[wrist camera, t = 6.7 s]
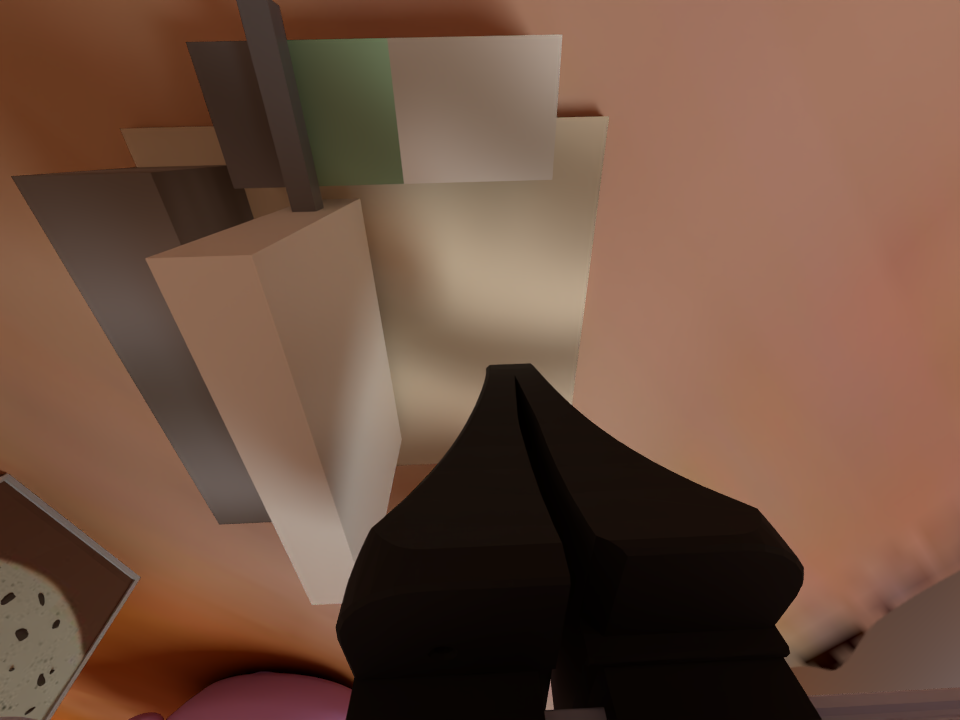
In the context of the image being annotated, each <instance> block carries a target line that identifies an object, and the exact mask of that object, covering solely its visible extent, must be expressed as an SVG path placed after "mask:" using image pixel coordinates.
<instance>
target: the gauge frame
mask: <svg viewBox="0 0 960 720" xmlns="http://www.w3.org/2000/svg"><path fill="white" fill-rule="evenodd" d="M287 43H288V48H289V52H290V57H291V62H292V66H293V71H294V75H295V80H296V84H297V89H298V93H299V98H300V102H301V107H302V111H303V116H304V120H305V125H306V129H307V134H308V138H309V143H310V147H311V152H312V156H313V161H314V165H315V170H316V175H317V179H318V184H319V188H320V193H321V197H322V199H353V198H360V201H361V207H362V213H363V218H364V224H365V230H366V236H367V241H368V247H369V253H370V259H371V265H372V270H373V276H374V282H375V288H376V294H377V299H378V305H379V311H380V317H381V323H382V328H383V334H384V340H385V346H386V351H387V357H388V363H389V369H390V375H391V380H392V386H393V392H394V398H395V404H396V409H397V415H398V421H399V427H400V433H401V438H402V441H401V446H400V451H399V455H398V460H397V465H396V466H399V465H422V464H438V463H439V462H440V460H441V459H442V458H443V456H444V455H445V454H446V453H447V451H448V450H449V449H450V447H451V446H452V444H453V443H454V441H455V440H456V439H457V437H458V436H459V434H460V432H461V431H462V429H463V427H464V426H465V424H466V422H467V420H468V418H469V416H470V414H471V413H472V411H473V409H474V407H475V405H476V402H477V400H478V397H479V395H480V392H481V390H482V387H483V384H484V380H485V376H486V368H487V367H488V366H489V365H497V364H524V363H531V364H532V365H533V366H534V367H535V368H536V369H537V370H538V371H539V372H540V373H541V375H542V376H543V377H544V378H545V379H546V380H547V381H548V382H549V383H550V384H551V385H552V386H553V387H554V388H555V389H556V390H557V391H558V392H559V393H560V394H561V395H562V396H563V397H564V398H565V399H566V400H567V401H568V402H569V403H570V404H571V405H572V400H573V392H574V384H575V377H576V369H577V361H578V353H579V346H580V338H581V330H582V322H583V315H584V307H585V299H586V291H587V284H588V276H589V268H590V261H591V253H592V245H593V237H594V230H595V222H596V214H597V206H598V199H599V191H600V183H601V175H602V168H603V160H604V152H605V144H606V137H607V129H608V121H609V116H600V117H560V118H557V105H558V90H559V76H560V61H561V47H562V35H514V36H465V37H415V38H366V39H316V40H287ZM186 44H187V47H188V50H189V53H190V56H191V59H192V62H193V65H194V68H195V71H196V74H197V77H198V80H199V83H200V86H201V90H202V93H203V96H204V99H205V102H206V105H207V108H208V111H209V114H210V117H211V120H212V123H213V126H198V127H158V128H120V130H121V133H122V135H123V137H124V139H125V142H126V144H127V146H128V149H129V151H130V153H131V155H132V158H133V160H134V162H135V164H136V167H134V168H120V169H106V170H92V171H78V172H64V173H51V174H37V175H23V176H11V177H12V179H13V180H14V182H15V184H16V185H17V187H18V189H19V190H20V192H21V194H22V195H23V197H24V199H25V200H26V202H27V204H28V205H29V207H30V209H31V210H32V212H33V214H34V215H35V217H36V219H37V220H38V222H39V224H40V225H41V227H42V229H43V230H44V232H45V234H46V235H47V237H48V239H49V240H50V242H51V244H52V245H53V247H54V249H55V251H56V252H57V254H58V256H59V257H60V259H61V261H62V262H63V264H64V266H65V267H66V269H67V271H68V272H69V274H70V276H71V277H72V279H73V281H74V282H75V284H76V286H77V287H78V289H79V291H80V292H81V294H82V296H83V297H84V299H85V301H86V302H87V304H88V306H89V307H90V309H91V311H92V312H93V314H94V316H95V317H96V319H97V321H98V322H99V324H100V326H101V327H102V329H103V331H104V332H105V334H106V336H107V337H108V339H109V341H110V342H111V344H112V346H113V348H114V349H115V351H116V353H117V354H118V356H119V358H120V359H121V361H122V363H123V364H124V366H125V368H126V369H127V371H128V373H129V374H130V376H131V378H132V379H133V381H134V383H135V384H136V386H137V388H138V389H139V391H140V393H141V394H142V396H143V398H144V399H145V401H146V403H147V404H148V406H149V408H150V409H151V411H152V413H153V414H154V416H155V418H156V419H157V421H158V423H159V424H160V426H161V428H162V429H163V431H164V433H165V434H166V436H167V438H168V440H169V441H170V443H171V445H172V446H173V448H174V450H175V451H176V453H177V455H178V456H179V458H180V460H181V461H182V463H183V465H184V466H185V468H186V470H187V471H188V473H189V475H190V476H191V478H192V480H193V481H194V483H195V485H196V486H197V488H198V490H199V491H200V493H201V495H202V496H203V498H204V500H205V501H206V503H207V505H208V506H209V508H210V510H211V511H212V513H213V515H214V516H215V518H216V520H217V521H218V523H219V524H240V523H261V522H272V521H271V519H270V517H269V515H268V513H267V511H266V509H265V506H264V504H263V502H262V500H261V498H260V496H259V494H258V492H257V490H256V488H255V486H254V484H253V482H252V480H251V477H250V475H249V473H248V471H247V469H246V467H245V465H244V463H243V461H242V459H241V457H240V455H239V453H238V450H237V448H236V446H235V444H234V442H233V440H232V438H231V436H230V434H229V432H228V430H227V428H226V426H225V423H224V421H223V419H222V417H221V415H220V413H219V411H218V409H217V407H216V405H215V403H214V401H213V399H212V396H211V394H210V392H209V390H208V388H207V386H206V384H205V382H204V380H203V378H202V376H201V374H200V372H199V369H198V367H197V365H196V363H195V361H194V359H193V357H192V355H191V353H190V351H189V349H188V347H187V345H186V342H185V340H184V338H183V336H182V334H181V332H180V330H179V328H178V326H177V324H176V322H175V320H174V318H173V316H172V313H171V311H170V309H169V307H168V305H167V303H166V301H165V299H164V297H163V295H162V293H161V291H160V289H159V286H158V284H157V282H156V280H155V278H154V276H153V274H152V272H151V270H150V268H149V266H148V264H147V262H146V259H145V258H148V257H150V256H153V255H156V254H159V253H162V252H164V251H167V250H170V249H173V248H175V247H178V246H181V245H184V244H187V243H189V242H192V241H195V240H198V239H201V238H203V237H206V236H209V235H212V234H214V233H217V232H220V231H223V230H226V229H228V228H231V227H234V226H237V225H240V224H242V223H245V222H248V221H251V220H253V219H256V218H259V217H262V216H265V215H267V214H270V213H273V212H276V211H278V210H281V209H284V208H287V207H290V202H289V198H288V194H287V191H286V187H285V183H284V179H283V176H282V172H281V168H280V164H279V160H278V157H277V153H276V149H275V145H274V141H273V138H272V134H271V130H270V126H269V122H268V119H267V115H266V111H265V107H264V103H263V100H262V96H261V92H260V88H259V84H258V81H257V77H256V73H255V69H254V65H253V62H252V58H251V54H250V50H249V46H248V43H247V41H217V42H186Z"/></svg>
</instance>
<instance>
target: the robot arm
mask: <svg viewBox="0 0 960 720" xmlns="http://www.w3.org/2000/svg"><path fill="white" fill-rule="evenodd" d="M803 580H804V567H803V565H802V564H801V562H800V561H799V559H798V557H797V556H796V555H795V554H794V552H793V551H792V550H791V549H790V547H789V546H788V545H787V544H786V542H785V541H784V540H783V539H782V537H781V536H780V535H779V534H778V532H777V531H776V530H775V529H774V528H773V526H772V525H771V524H770V523H769V522H768V520H767V519H766V518H765V517H764V516H763V515H762V513H761V512H760V511H759V510H758V509H757V508H754V507H752V506H750V505H747V504H745V503H742V502H740V501H737V500H735V499H733V498H730V497H728V496H725V495H723V494H720V493H718V492H716V491H713V490H711V489H708V488H706V487H703V486H701V485H699V484H697V483H695V482H693V481H691V480H689V479H686V478H684V477H682V476H680V475H678V474H676V473H674V472H672V471H670V470H668V469H666V468H664V467H662V466H660V465H659V464H657V463H655V462H653V461H651V460H649V459H648V458H646V457H644V456H643V455H641V454H639V453H637V452H636V451H634V450H632V449H631V448H629V447H627V446H626V445H624V444H623V443H621V442H619V441H618V440H616V439H615V438H613V437H612V436H611V435H609V434H608V433H606V432H605V431H603V430H602V429H601V428H599V427H598V426H596V425H595V424H594V423H593V422H591V421H590V420H589V419H587V418H586V417H585V416H584V415H583V414H581V413H580V412H579V411H578V410H577V409H576V408H574V407H573V406H572V405H571V404H570V403H569V402H568V401H567V400H566V399H565V398H564V397H563V396H562V395H561V394H560V393H559V392H558V391H557V390H556V389H555V388H554V387H553V386H552V385H551V384H550V383H549V382H548V381H547V380H546V379H545V378H544V377H543V376H542V375H541V373H540V372H539V371H538V370H537V369H536V368H535V367H534V366H533V365H532V364H531V363H524V364H497V365H489V366H488V367H487V368H486V376H485V380H484V384H483V387H482V390H481V392H480V395H479V397H478V400H477V402H476V405H475V407H474V409H473V411H472V413H471V414H470V416H469V418H468V420H467V422H466V424H465V426H464V427H463V429H462V431H461V432H460V434H459V436H458V437H457V439H456V440H455V441H454V443H453V444H452V446H451V447H450V449H449V450H448V451H447V453H446V454H445V455H444V456H443V458H442V459H441V460H440V462H439V463H438V464H437V465H436V466H435V468H434V469H433V470H432V471H431V472H430V473H429V474H428V475H427V477H426V478H425V479H424V480H423V481H422V482H421V483H420V484H419V485H418V486H417V487H416V488H415V489H414V490H413V491H412V492H411V493H410V494H409V495H408V496H407V497H406V498H405V499H404V500H403V501H402V502H401V503H400V504H398V505H397V506H396V507H395V508H394V509H393V510H392V511H390V512H389V513H388V514H387V515H386V516H385V517H384V518H382V519H381V520H380V521H379V522H378V523H377V524H375V525H374V526H373V527H372V528H371V529H370V531H369V533H368V535H367V537H366V539H365V541H364V543H363V545H362V548H361V550H360V552H359V554H358V557H357V559H356V562H355V564H354V567H353V569H352V572H351V574H350V577H349V580H348V583H347V586H346V590H345V594H344V597H343V601H342V605H341V609H340V613H339V616H338V620H337V624H336V632H337V638H338V641H339V644H340V646H341V648H342V650H343V652H344V655H345V657H346V659H347V661H348V664H349V666H350V668H351V670H352V673H353V675H354V682H353V687H352V692H351V696H350V701H349V706H348V711H347V716H346V720H960V688H941V689H924V690H905V691H888V692H869V693H853V694H852V693H851V694H833V695H815V696H807V694H806V693H805V691H804V690H803V688H802V686H801V685H800V683H799V682H798V680H797V678H796V677H795V675H794V673H793V672H792V670H791V669H790V667H789V665H788V664H787V662H786V661H785V659H784V657H787V656H788V655H789V654H790V651H789V646H788V645H787V643H786V642H785V640H784V639H783V637H782V635H781V634H780V632H779V631H778V629H777V628H776V626H775V624H776V623H777V622H778V620H779V619H780V618H781V616H782V615H783V614H784V612H785V611H786V610H787V608H788V607H789V606H790V604H791V603H792V602H793V600H794V599H795V598H796V596H797V594H798V592H799V590H800V588H801V586H802V584H803ZM550 679H551V687H552V696H553V705H554V710H545V709H546V703H547V697H548V691H549V685H550ZM0 720H37V719H31V718H26V717H11V716H10V717H0Z"/></svg>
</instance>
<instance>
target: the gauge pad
mask: <svg viewBox="0 0 960 720" xmlns="http://www.w3.org/2000/svg"><path fill="white" fill-rule="evenodd" d="M236 1H237V5H238V8H239V12H240V16H241V20H242V24H243V27H244V31H245V35H246V39H247V43H248V46H249V50H250V54H251V58H252V62H253V65H254V69H255V73H256V77H257V81H258V84H259V88H260V92H261V96H262V100H263V103H264V107H265V111H266V115H267V119H268V122H269V126H270V130H271V134H272V138H273V141H274V145H275V149H276V153H277V157H278V160H279V164H280V168H281V172H282V176H283V179H284V183H285V187H286V191H287V194H288V198H289V202H290V207H287V208H284V209H281V210H278V211H276V212H273V213H270V214H267V215H265V216H262V217H259V218H256V219H253V220H251V221H248V222H245V223H242V224H240V225H237V226H234V227H231V228H228V229H226V230H223V231H220V232H217V233H214V234H212V235H209V236H206V237H203V238H201V239H198V240H195V241H192V242H189V243H187V244H184V245H181V246H178V247H175V248H173V249H170V250H167V251H164V252H162V253H159V254H156V255H153V256H150V257H148V258H145V259H146V262H147V264H148V266H149V268H150V270H151V272H152V274H153V276H154V278H155V280H156V282H157V284H158V286H159V289H160V291H161V293H162V295H163V297H164V299H165V301H166V303H167V305H168V307H169V309H170V311H171V313H172V316H173V318H174V320H175V322H176V324H177V326H178V328H179V330H180V332H181V334H182V336H183V338H184V340H185V342H186V345H187V347H188V349H189V351H190V353H191V355H192V357H193V359H194V361H195V363H196V365H197V367H198V369H199V372H200V374H201V376H202V378H203V380H204V382H205V384H206V386H207V388H208V390H209V392H210V394H211V396H212V399H213V401H214V403H215V405H216V407H217V409H218V411H219V413H220V415H221V417H222V419H223V421H224V423H225V426H226V428H227V430H228V432H229V434H230V436H231V438H232V440H233V442H234V444H235V446H236V448H237V450H238V453H239V455H240V457H241V459H242V461H243V463H244V465H245V467H246V469H247V471H248V473H249V475H250V477H251V480H252V482H253V484H254V486H255V488H256V490H257V492H258V494H259V496H260V498H261V500H262V502H263V504H264V506H265V509H266V511H267V513H268V515H269V517H270V519H271V521H272V523H273V525H274V527H275V529H276V531H277V533H278V536H279V538H280V540H281V542H282V544H283V546H284V548H285V550H286V552H287V554H288V556H289V558H290V560H291V563H292V565H293V567H294V569H295V571H296V573H297V575H298V577H299V579H300V581H301V583H302V585H303V587H304V590H305V592H306V594H307V596H308V598H309V600H310V602H311V604H312V605H321V604H340V603H342V601H343V597H344V594H345V590H346V586H347V583H348V580H349V577H350V574H351V572H352V569H353V567H354V564H355V562H356V559H357V557H358V554H359V552H360V550H361V548H362V545H363V543H364V541H365V539H366V537H367V535H368V533H369V531H370V529H371V528H372V527H373V526H374V525H375V524H377V523H378V522H379V521H380V520H381V519H382V518H384V517H385V516H386V512H387V508H388V503H389V498H390V493H391V489H392V484H393V479H394V474H395V470H396V465H397V460H398V455H399V451H400V446H401V441H402V438H401V433H400V427H399V421H398V415H397V409H396V404H395V398H394V392H393V386H392V380H391V375H390V369H389V363H388V357H387V351H386V346H385V340H384V334H383V328H382V323H381V317H380V311H379V305H378V299H377V294H376V288H375V282H374V276H373V270H372V265H371V259H370V253H369V247H368V241H367V236H366V230H365V224H364V218H363V213H362V207H361V201H360V198H353V199H322V197H321V193H320V188H319V184H318V179H317V175H316V170H315V165H314V161H313V156H312V152H311V147H310V143H309V138H308V134H307V129H306V125H305V120H304V116H303V111H302V107H301V102H300V98H299V93H298V89H297V84H296V80H295V75H294V71H293V66H292V62H291V57H290V52H289V48H288V43H287V39H286V34H285V30H284V25H283V21H282V16H281V12H280V7H279V5H277V4H276V3H275V2H273V1H272V0H236Z"/></svg>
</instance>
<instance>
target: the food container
mask: <svg viewBox="0 0 960 720" xmlns="http://www.w3.org/2000/svg"><path fill="white" fill-rule="evenodd" d="M140 578H141V577H139V576H138V575H137V574H136V573H134V572H133V571H132V570H131V569H129V568H128V567H127V566H125V565H124V564H123V563H122V562H120V561H119V560H118V559H116V558H115V557H114V556H113V555H111V554H110V553H109V552H108V551H106V550H105V549H104V548H102V547H101V546H100V545H99V544H97V543H96V542H95V541H94V540H92V539H91V538H90V537H88V536H87V535H86V534H85V533H83V532H82V531H81V530H79V529H78V528H77V527H76V526H74V525H73V524H72V523H71V522H69V521H68V520H67V519H65V518H64V517H63V516H62V515H60V514H59V513H58V512H57V511H55V510H54V509H53V508H51V507H50V506H49V505H48V504H46V503H45V502H44V501H42V500H41V499H40V498H39V497H37V496H36V495H35V494H34V493H32V492H31V491H30V490H28V489H27V488H26V487H25V486H23V485H22V484H21V483H20V482H18V481H17V480H16V479H14V478H13V477H12V476H11V475H9V474H8V473H6V474H3V475H0V717H10V716H11V717H26V718H31V719H37V720H50V719H51V718H52V716H53V714H54V713H55V711H56V710H57V708H58V707H59V705H60V703H61V702H62V700H63V699H64V697H65V696H66V694H67V692H68V691H69V689H70V688H71V686H72V685H73V683H74V681H75V680H76V678H77V677H78V675H79V674H80V672H81V671H82V669H83V667H84V666H85V664H86V663H87V661H88V660H89V658H90V656H91V655H92V653H93V652H94V650H95V649H96V647H97V645H98V644H99V642H100V641H101V639H102V638H103V636H104V634H105V633H106V631H107V630H108V628H109V627H110V625H111V623H112V622H113V620H114V619H115V617H116V616H117V614H118V613H119V611H120V609H121V608H122V606H123V605H124V603H125V602H126V600H127V598H128V597H129V595H130V594H131V592H132V591H133V589H134V587H135V586H136V584H137V583H138V581H139V580H140Z"/></svg>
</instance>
